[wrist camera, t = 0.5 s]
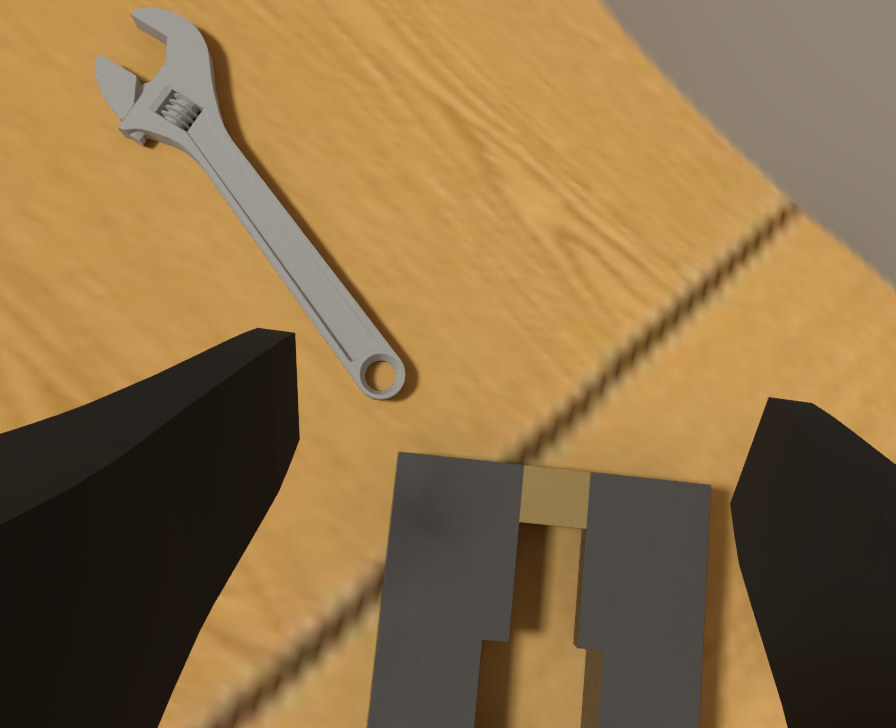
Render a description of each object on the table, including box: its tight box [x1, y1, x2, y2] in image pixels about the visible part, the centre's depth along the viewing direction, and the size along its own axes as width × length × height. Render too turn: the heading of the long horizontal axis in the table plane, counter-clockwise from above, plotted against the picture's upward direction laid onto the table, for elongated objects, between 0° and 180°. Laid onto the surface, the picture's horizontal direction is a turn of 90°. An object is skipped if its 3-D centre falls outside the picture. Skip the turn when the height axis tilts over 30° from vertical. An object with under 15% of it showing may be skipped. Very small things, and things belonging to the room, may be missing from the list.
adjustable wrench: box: [95, 8, 405, 400], centre depth 38 cm, size 25×6×2 cm, turn 32°
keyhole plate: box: [367, 452, 711, 728], centre depth 35 cm, size 16×16×3 cm
